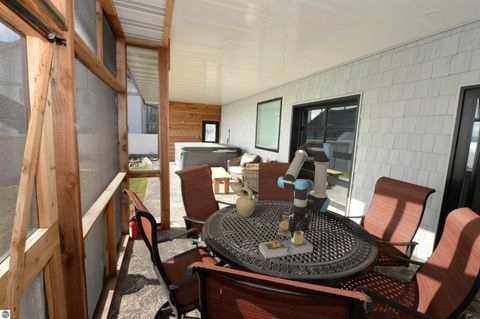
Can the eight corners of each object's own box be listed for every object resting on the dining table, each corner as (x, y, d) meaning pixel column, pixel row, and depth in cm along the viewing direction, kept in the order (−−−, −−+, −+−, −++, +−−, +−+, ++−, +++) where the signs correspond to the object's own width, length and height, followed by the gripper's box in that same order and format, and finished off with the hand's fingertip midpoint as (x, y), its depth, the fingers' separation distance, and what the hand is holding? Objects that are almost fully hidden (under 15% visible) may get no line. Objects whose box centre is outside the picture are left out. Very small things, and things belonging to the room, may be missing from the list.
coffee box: (277, 235, 158) (279, 212, 156) (279, 231, 164) (280, 209, 162) (290, 237, 155) (292, 214, 153) (292, 233, 161) (293, 211, 159)
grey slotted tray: (303, 243, 147) (303, 237, 146) (312, 251, 137) (313, 245, 137) (258, 249, 138) (259, 243, 137) (265, 258, 128) (265, 251, 128)
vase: (231, 215, 191) (232, 180, 187) (245, 210, 202) (247, 178, 198) (244, 221, 179) (246, 184, 175) (259, 216, 190) (261, 181, 186)
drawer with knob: (276, 249, 138) (277, 239, 138) (280, 253, 134) (280, 243, 133) (268, 250, 137) (269, 240, 136) (272, 254, 132) (273, 244, 131)
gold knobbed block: (298, 240, 142) (299, 230, 141) (302, 243, 137) (303, 233, 137) (291, 240, 141) (292, 231, 140) (295, 244, 136) (296, 234, 135)
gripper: (309, 202, 142) (306, 237, 145) (283, 203, 137) (281, 240, 140) (316, 206, 135) (313, 243, 138) (289, 208, 130) (286, 246, 133)
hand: (297, 241), depth 139 cm, fingers closed on gold knobbed block, 5 cm apart
